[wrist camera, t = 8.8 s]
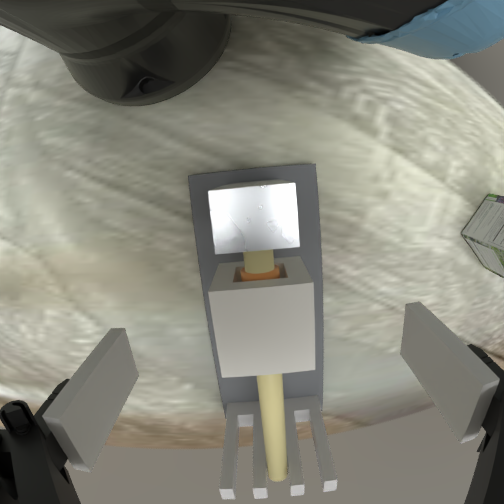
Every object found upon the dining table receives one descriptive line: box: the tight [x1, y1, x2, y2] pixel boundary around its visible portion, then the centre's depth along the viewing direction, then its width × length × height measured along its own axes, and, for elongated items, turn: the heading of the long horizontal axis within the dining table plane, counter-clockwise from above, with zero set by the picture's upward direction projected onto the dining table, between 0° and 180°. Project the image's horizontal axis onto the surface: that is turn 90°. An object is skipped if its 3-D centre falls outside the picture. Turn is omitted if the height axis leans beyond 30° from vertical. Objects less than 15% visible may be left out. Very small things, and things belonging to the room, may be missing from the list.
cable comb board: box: [188, 164, 338, 499], centre depth 23 cm, size 24×10×12 cm, turn 5°
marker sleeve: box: [208, 256, 315, 378], centre depth 18 cm, size 5×5×5 cm
